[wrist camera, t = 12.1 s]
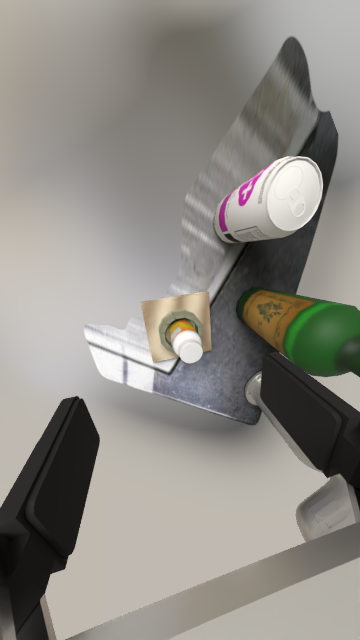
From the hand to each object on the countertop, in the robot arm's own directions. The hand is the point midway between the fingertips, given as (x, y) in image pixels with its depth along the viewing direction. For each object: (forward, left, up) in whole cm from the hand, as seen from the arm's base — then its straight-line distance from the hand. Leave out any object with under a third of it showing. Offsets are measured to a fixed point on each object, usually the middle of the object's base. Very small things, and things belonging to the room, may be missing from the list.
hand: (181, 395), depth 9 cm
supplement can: (-17, -11, -28) cm, 35 cm away
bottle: (-22, +7, -28) cm, 37 cm away
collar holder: (-4, +9, -28) cm, 30 cm away
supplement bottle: (-4, +9, -27) cm, 29 cm away
